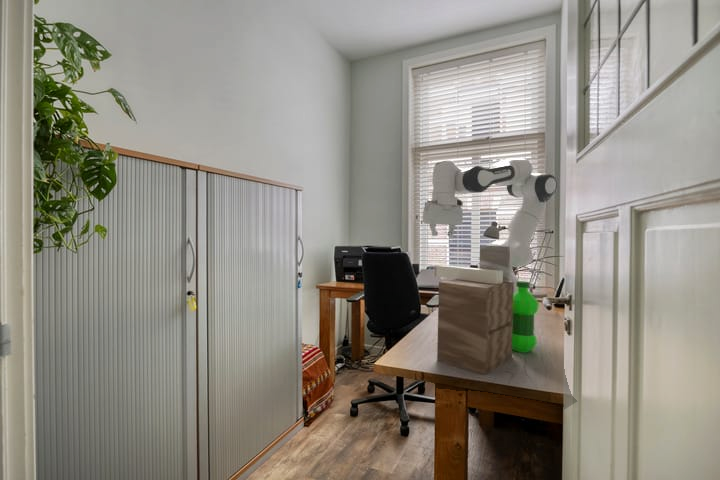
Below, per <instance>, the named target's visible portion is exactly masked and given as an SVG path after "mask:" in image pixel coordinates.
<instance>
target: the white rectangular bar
mask: <svg viewBox="0 0 720 480" xmlns="http://www.w3.org/2000/svg"><path fill="white" fill-rule="evenodd" d="M434 277H439V278H446V279H452V280H454V279H460V280H468V281H476V282H484V283H492V284H499V283H503V271H499V270H489V269H479V268H477V267H467V266H465V267H464V266H456V265H455V266H454V265H447V264H446V265H445V264H437V265H436V264H435V265H434Z"/></svg>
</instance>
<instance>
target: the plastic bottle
mask: <svg viewBox="0 0 720 480" xmlns="http://www.w3.org/2000/svg"><path fill="white" fill-rule="evenodd" d="M517 287H518V291H517V292H516V293H514V294H513V331H512V350H514V351H515V352H518V353H525V354H526V353H529V352H531V351H532V350H533V349H534V348H535V347H536V345H537V343H538V342H537V337H536V335H535V314H536V313H537V312H538V311H539V305H540V303H539V301H538V299H537V298H536V297H535V296H534V295H533V294H531V293H530V291H529V288H530V281H527V280H526V281H524V280H519V281H517Z"/></svg>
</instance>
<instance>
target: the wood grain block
mask: <svg viewBox="0 0 720 480" xmlns="http://www.w3.org/2000/svg"><path fill="white" fill-rule="evenodd" d="M478 267H479V268H478V269H489V270H499V271H503V283H499V284H492V283H484V282H476V281H468V280H460V279H449V280H444V281H439V282H438V301H437V303H438V304H437V305H438V306H437V309H438V311H437V349H436V352H437V353H436V357H437V358H436V361H437V362H439V363H444V364H447V365H450V366H453V367H457V368H460V369H463V370H466V371H469V372H473V373H476V374H479V375H483V376H485V375H487V374H488V373H489V372H491V371H493V370H494V369H496V368H497V367H499V366H500V365H502V364H503V363H505V362H507V361H508V360H510V359H511V358H512V356H513V348H512V331H513V293H514V282H513V281H509V270H510V246H486V245H485V244H484V245H479V265H478Z"/></svg>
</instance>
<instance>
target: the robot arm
mask: <svg viewBox="0 0 720 480" xmlns="http://www.w3.org/2000/svg"><path fill="white" fill-rule="evenodd" d="M432 171H433V172H432V188H433V189H432V194H431V199H427V200H426V201H425V202H424V208H423V212H422V222H423V224H425V225H427V224H428V225H429V229H430V231H431V236H432V237H433V236H434V237H437V236H438V235H439V234H438V233H439V232H438V230H437V229H436V227H437V225H443V226H445V225H448V227H449V229H448V231H447V232H446V233H447V236H448V237H453V236H454V232H455V229H456V226H460V225H462V223H463V219H464V218H463V217H464V216H463V215H464V213H463V208H462V207H463V205H464V202H463V201H462V200H461V199H459V198H458V197H457V196H456V195H458V196H459V195H467V194H474V193H483V192H485V191H486V190H488V188H490V187H491V186H492V185H495V186H498V187H503V186H504V187H505V186H506V190H507V193H508V194H509V196H512V197H514V198H522V203H521V204H520V206H519V208H518V209H517V210H516V211H515V214H514V215H513V217H511V220H510V222H509V224H508V226H507V230H508V233H509V234H508V237H507V240H504V241H501V240H500V241H499V240H498V241H497V240H496V241H493V242H489V243H488V244H486V245H485V246H510V270H509V281H513V282H514V293H516V292H517V291H518V287H517V281H520V280H519V278H518V276H516V275H517V274H515V272H514V268H520V267H525V266H528V265H529V264H530V263H531V261H532V260H533V251H532V249H531V240H532V238H533V236H534V234H535V232H536V230H537V228H538V227H539V225H540V223H541V221H542V219H543V217H544V214H545V211H546V209H547V203H546V202H547V201H549V200H550V199H551V198H552V196H553V195H554V194H555V192H556V190H557V187H558V183H557V180H556V176H554V175H553V174H551V173H550V174H549V173H545V172H542V173H534V172H533V165H532V162H530V161H529V160H528V159H526V158H517V157H516V158H508V159H504V160H501V161H500V160H499V162H496V163H494V164H493V165H492V166H491V167H489V168H488V167H486V166H484V165H475V166H472V167H470V168H466V169H463V168H460V167H459V166H458V165H457V164H455V161H454V160H451V159H447V160H441V161H439V162H436V163H435V164H434V165H433V170H432ZM514 293H513V294H514Z"/></svg>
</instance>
